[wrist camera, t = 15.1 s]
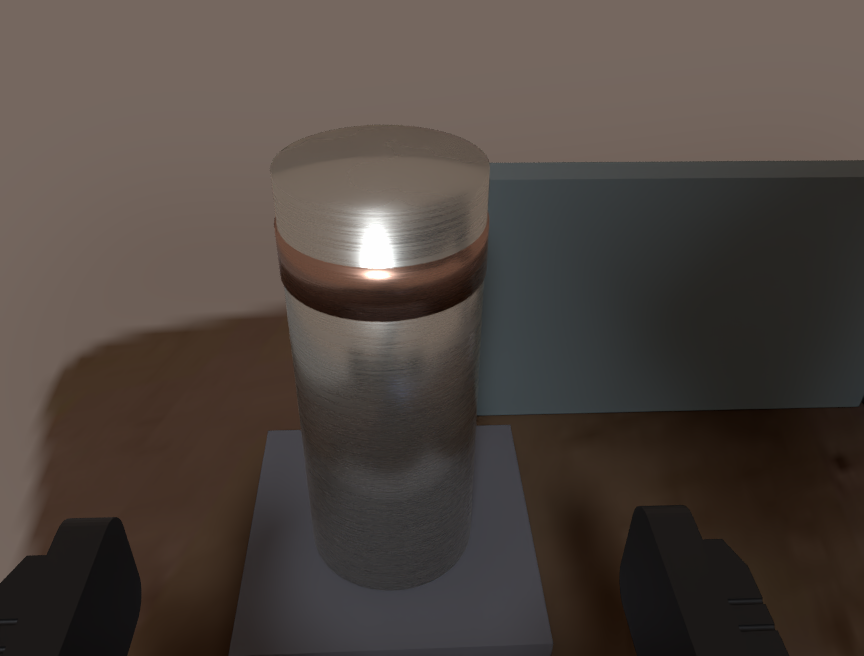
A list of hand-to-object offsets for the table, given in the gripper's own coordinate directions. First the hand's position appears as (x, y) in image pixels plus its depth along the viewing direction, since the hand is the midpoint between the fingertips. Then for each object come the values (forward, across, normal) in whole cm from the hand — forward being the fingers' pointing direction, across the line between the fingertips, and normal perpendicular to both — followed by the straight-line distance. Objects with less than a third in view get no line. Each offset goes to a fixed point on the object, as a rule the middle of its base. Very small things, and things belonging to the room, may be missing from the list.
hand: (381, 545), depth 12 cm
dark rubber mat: (+7, 0, +8) cm, 11 cm away
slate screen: (+13, -10, +8) cm, 18 cm away
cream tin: (+7, 0, +8) cm, 10 cm away
